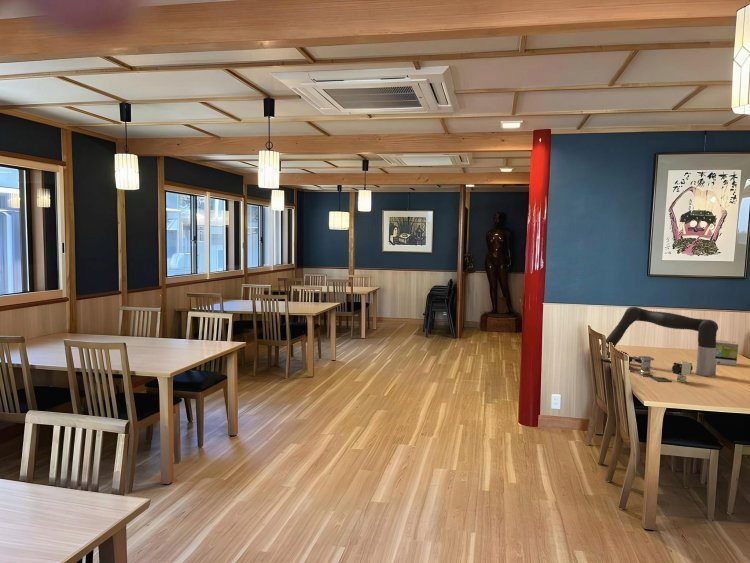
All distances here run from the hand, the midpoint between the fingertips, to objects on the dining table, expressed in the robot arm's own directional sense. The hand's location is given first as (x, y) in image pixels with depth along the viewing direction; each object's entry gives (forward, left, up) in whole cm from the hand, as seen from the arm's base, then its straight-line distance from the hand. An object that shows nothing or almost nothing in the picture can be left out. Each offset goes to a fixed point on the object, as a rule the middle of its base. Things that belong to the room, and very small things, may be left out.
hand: (635, 362), depth 328 cm
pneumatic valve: (-15, +21, -6) cm, 27 cm away
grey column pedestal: (-1, +9, -6) cm, 11 cm away
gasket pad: (-5, +19, -6) cm, 20 cm away
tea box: (-73, -30, -6) cm, 80 cm away
